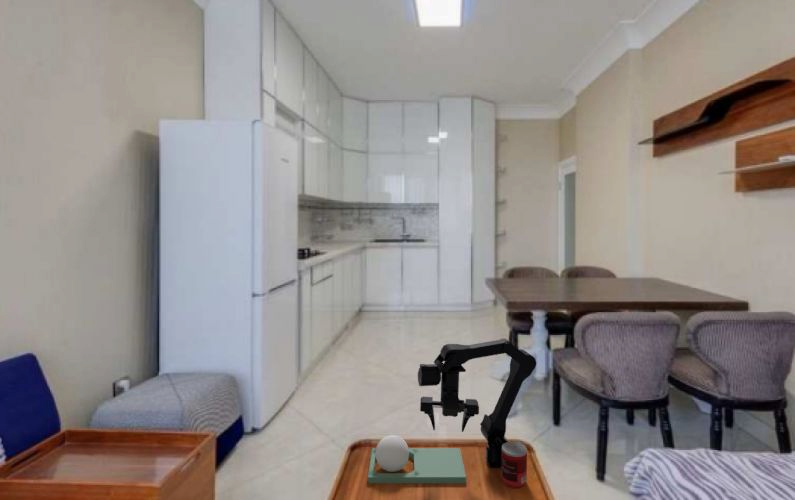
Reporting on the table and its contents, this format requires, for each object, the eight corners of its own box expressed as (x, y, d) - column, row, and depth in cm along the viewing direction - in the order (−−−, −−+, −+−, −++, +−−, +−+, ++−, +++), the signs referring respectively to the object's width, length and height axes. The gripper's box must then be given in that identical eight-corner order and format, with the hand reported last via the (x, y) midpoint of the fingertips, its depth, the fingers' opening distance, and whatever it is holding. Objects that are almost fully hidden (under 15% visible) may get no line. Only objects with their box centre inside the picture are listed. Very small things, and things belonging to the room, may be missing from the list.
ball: (388, 422, 153) (369, 445, 155) (388, 443, 142) (367, 468, 144) (415, 439, 154) (396, 462, 156) (416, 461, 143) (396, 485, 145)
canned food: (524, 474, 146) (524, 441, 145) (528, 489, 138) (529, 455, 137) (499, 473, 147) (500, 440, 146) (503, 488, 139) (503, 454, 138)
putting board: (459, 453, 158) (459, 448, 158) (466, 483, 142) (466, 477, 141) (371, 453, 159) (371, 448, 159) (367, 483, 142) (367, 477, 142)
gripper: (420, 392, 140) (419, 441, 142) (481, 396, 139) (479, 445, 140) (421, 379, 151) (419, 424, 153) (478, 382, 150) (476, 427, 151)
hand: (448, 430), depth 149 cm, fingers open, 9 cm apart
